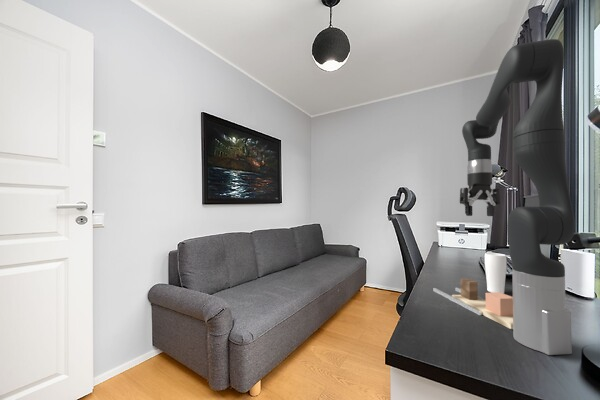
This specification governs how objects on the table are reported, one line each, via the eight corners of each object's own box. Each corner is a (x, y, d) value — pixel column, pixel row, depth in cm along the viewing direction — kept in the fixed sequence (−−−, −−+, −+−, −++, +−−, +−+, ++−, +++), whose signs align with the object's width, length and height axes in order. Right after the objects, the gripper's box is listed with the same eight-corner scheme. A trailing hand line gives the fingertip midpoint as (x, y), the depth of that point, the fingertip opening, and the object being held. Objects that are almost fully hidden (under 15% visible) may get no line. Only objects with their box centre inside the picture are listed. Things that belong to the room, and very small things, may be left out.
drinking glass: (481, 290, 98) (480, 253, 99) (490, 288, 101) (490, 252, 102) (500, 296, 92) (500, 256, 93) (510, 294, 95) (510, 255, 95)
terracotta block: (516, 315, 72) (515, 298, 72) (500, 316, 71) (500, 298, 71) (500, 308, 77) (500, 292, 77) (485, 309, 76) (485, 292, 76)
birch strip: (537, 328, 67) (536, 300, 67) (510, 329, 66) (510, 301, 67) (472, 298, 89) (472, 277, 89) (452, 299, 88) (452, 278, 88)
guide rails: (509, 314, 76) (509, 310, 76) (479, 315, 75) (479, 311, 75) (457, 290, 98) (457, 287, 98) (433, 291, 97) (433, 287, 97)
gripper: (469, 170, 87) (470, 216, 87) (506, 171, 89) (506, 216, 88) (454, 173, 95) (454, 215, 94) (488, 174, 96) (488, 215, 96)
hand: (479, 216), depth 91 cm, fingers open, 8 cm apart
